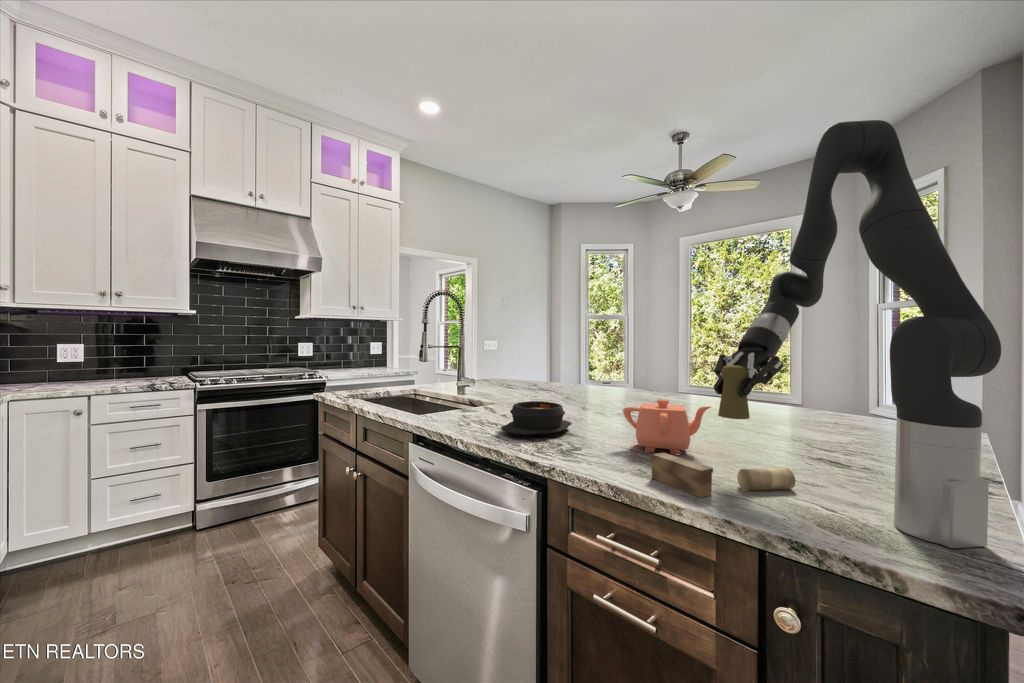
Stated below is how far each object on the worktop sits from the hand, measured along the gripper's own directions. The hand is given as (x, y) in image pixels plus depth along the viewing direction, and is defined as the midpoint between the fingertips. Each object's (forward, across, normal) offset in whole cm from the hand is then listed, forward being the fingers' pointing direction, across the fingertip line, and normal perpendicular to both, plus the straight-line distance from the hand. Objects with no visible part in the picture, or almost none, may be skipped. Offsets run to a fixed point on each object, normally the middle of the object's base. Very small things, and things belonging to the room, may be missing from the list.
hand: (728, 393), depth 91 cm
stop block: (+23, 0, +3) cm, 23 cm away
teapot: (+9, -22, +16) cm, 28 cm away
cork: (+2, 0, +5) cm, 6 cm away
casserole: (+24, -53, +1) cm, 58 cm away
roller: (+10, +9, +10) cm, 17 cm away
